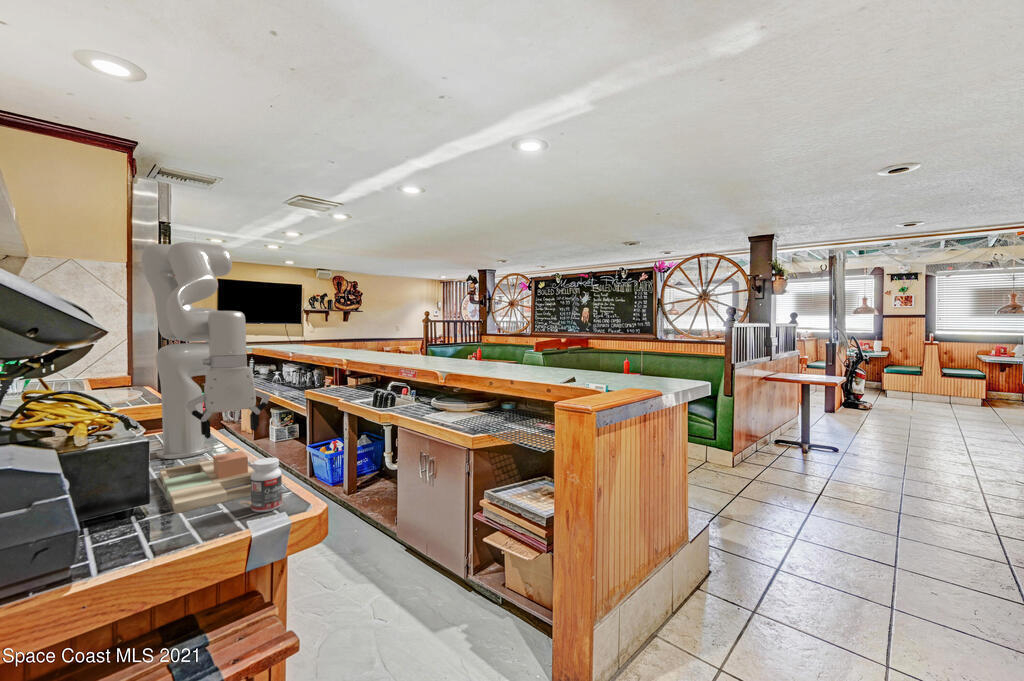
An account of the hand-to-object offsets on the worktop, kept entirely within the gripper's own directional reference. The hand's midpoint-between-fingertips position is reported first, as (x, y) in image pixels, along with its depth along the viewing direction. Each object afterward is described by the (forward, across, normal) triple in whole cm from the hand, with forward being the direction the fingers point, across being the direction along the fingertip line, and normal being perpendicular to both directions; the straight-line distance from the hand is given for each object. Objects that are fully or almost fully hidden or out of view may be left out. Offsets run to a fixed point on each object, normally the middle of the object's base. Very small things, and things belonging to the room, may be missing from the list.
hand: (231, 433), depth 108 cm
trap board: (+12, -5, +2) cm, 13 cm away
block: (+10, 0, +1) cm, 10 cm away
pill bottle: (+12, +2, -21) cm, 25 cm away
